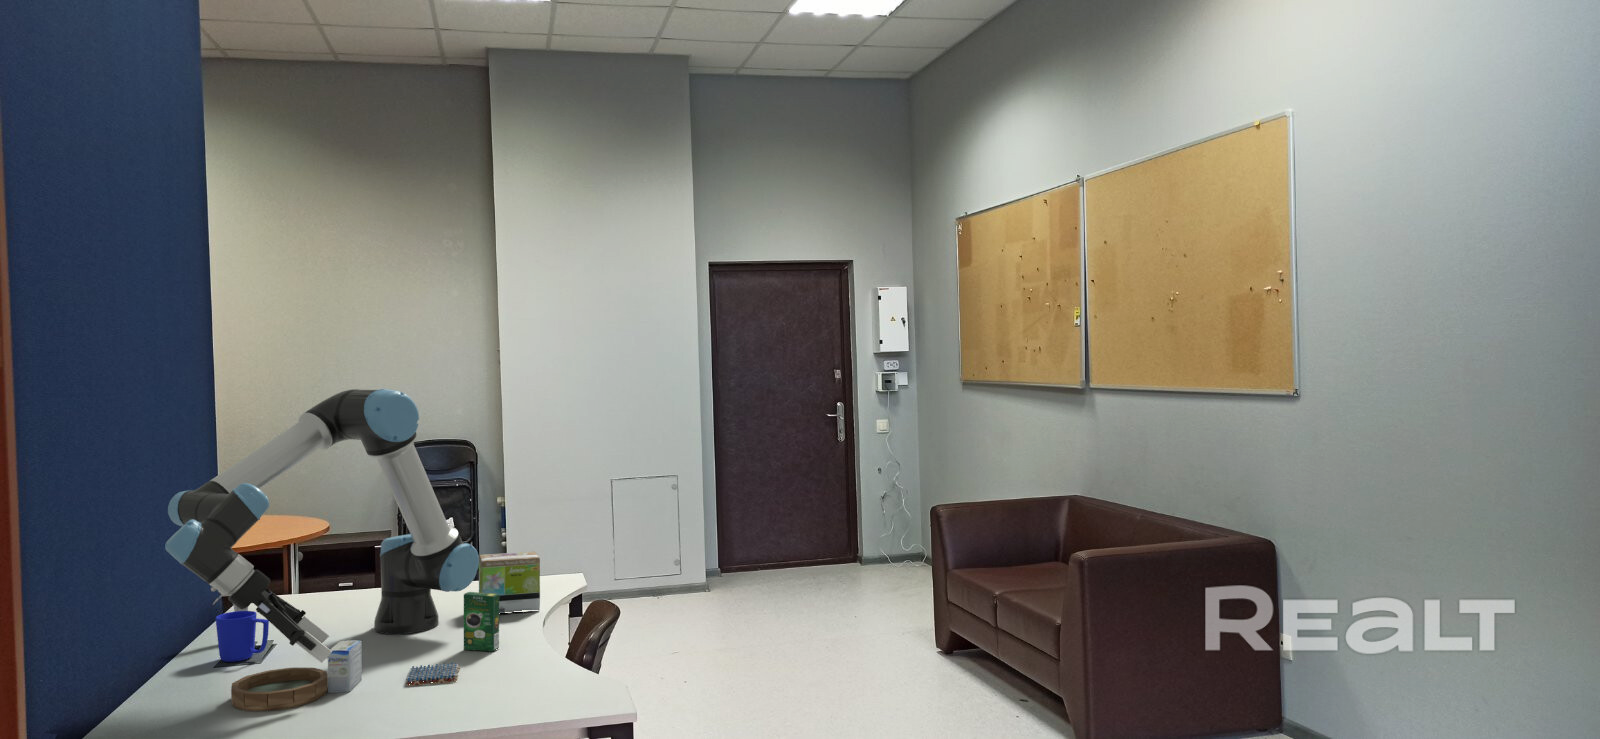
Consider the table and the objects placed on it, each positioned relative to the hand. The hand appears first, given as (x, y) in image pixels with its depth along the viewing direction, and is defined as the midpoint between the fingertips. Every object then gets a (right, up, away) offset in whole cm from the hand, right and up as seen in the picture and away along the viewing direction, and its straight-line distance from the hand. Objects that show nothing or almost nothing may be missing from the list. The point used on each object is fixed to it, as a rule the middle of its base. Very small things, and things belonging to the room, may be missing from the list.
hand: (325, 649), depth 219 cm
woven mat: (+19, -9, +8) cm, 23 cm away
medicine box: (+3, -9, +2) cm, 9 cm away
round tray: (-7, -9, -4) cm, 12 cm away
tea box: (+19, -7, +67) cm, 70 cm away
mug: (-29, -9, +23) cm, 38 cm away
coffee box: (+23, -8, +29) cm, 38 cm away
